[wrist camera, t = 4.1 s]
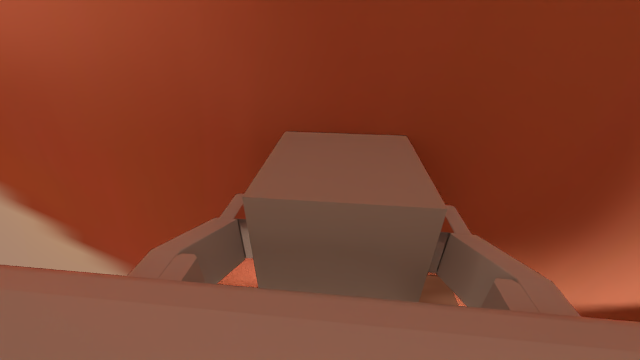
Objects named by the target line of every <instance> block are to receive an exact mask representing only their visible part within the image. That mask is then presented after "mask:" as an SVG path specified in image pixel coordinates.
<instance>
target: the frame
mask: <svg viewBox="0 0 640 360" xmlns="http://www.w3.org/2000/svg"><path fill="white" fill-rule="evenodd" d="M419 302H422V303H433V304H444V305H455V306H458V303H457V301H456V298H455V296H454V293H453V291H452V290H451V289H450V288H449V287H448V286H447V285H446V284H445V283H444V282H443V280H442V279H441V278H440V277H439V276H430V275H427V277H426V280H425V283H424V286H423V290H422V293H421V296H420V299H419Z"/></svg>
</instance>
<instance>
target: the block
mask: <svg viewBox="0 0 640 360" xmlns="http://www.w3.org/2000/svg"><path fill="white" fill-rule="evenodd" d="M242 200H243V205H244V211H245V216H246V222H247V227H248V233H249V238H250V244H251V249H252V255H253V260H254V266H255V271H256V277H257V282H258V288H265V289H277V290H288V291H299V292H310V293H322V294H333V295H344V296H356V297H367V298H378V299H389V300H400V301H411V302H419V299H420V296H421V293H422V290H423V286H424V283H425V280H426V277H427V274H428V270H429V267H430V264H431V261H432V258H433V254H434V251H435V248H436V245H437V241H438V238H439V235H440V232H441V229H442V225H443V222H444V219H445V216H446V212H447V207H446V205H445V203H444V202H443V200H442V198H441V196H440V195H439V193H438V191H437V189H436V187H435V186H434V184H433V182H432V180H431V178H430V177H429V175H428V173H427V171H426V170H425V168H424V166H423V164H422V162H421V161H420V159H419V157H418V155H417V153H416V152H415V150H414V148H413V146H412V145H411V143H410V141H409V139H408V137H407V136H402V135H374V134H346V133H317V132H289V131H285V132H284V134H283V135H282V137H281V138H280V140H279V142H278V143H277V145H276V146H275V148H274V149H273V151H272V152H271V154H270V155H269V157H268V158H267V160H266V161H265V163H264V164H263V166H262V167H261V169H260V170H259V172H258V173H257V175H256V176H255V178H254V179H253V181H252V182H251V184H250V186H249V187H248V189H247V190H246V192H245V193H244V195H243V196H242Z"/></svg>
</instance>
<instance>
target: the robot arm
mask: <svg viewBox="0 0 640 360" xmlns="http://www.w3.org/2000/svg"><path fill="white" fill-rule="evenodd" d="M243 195H244V194H241V193H238V194H236V195H235V196H234V197H233V199H232V200H231V202H230V203H229V204H228V206H227V207H226V209H225V210H224V211H223V213H222V214H221V216H220V217H219V218H213V219H211V220H209V221H207V222H205V223H203V224H201V225H199V226H197V227H195V228H193V229H191V230H189V231H187V232H185V233H183V234H181V235H179V236H177V237H175V238H173V239H171V240H169V241H167V242H165V243H164V244H162V245H160V246H158V247H156V248H154V249H152V250H150V252H149V253H148V254H147V255H146V256H145V257H144V258H143V259H142V260H141V261H140V262H139V263H138V265H137V266H136V267H135V268H134V269H133V270H132V271H131V272H130V273H129V274H128V275H127V276H120V275H109V274H97V273H86V272H75V271H65V270H53V269H43V268H31V267H19V266H9V265H0V360H640V322H635V321H624V320H613V319H601V318H590V317H581V316H580V315H579V314H578V312H577V311H576V310H575V309H574V308H573V306H572V305H571V304H570V303H569V301H568V300H567V299H566V298H565V297H564V295H563V294H562V293H561V292H560V290H559V289H558V288H557V287H556V286H555V284H554V283H553V282H552V281H550V280H549V279H547V278H545V277H544V276H542V275H541V274H539V273H537V272H536V271H534V270H532V269H531V268H529V267H528V266H526V265H524V264H523V263H521V262H519V261H518V260H516V259H515V258H513V257H511V256H510V255H508V254H507V253H505V252H503V251H502V250H500V249H498V248H497V247H495V246H494V245H492V244H490V243H489V242H487V241H485V240H484V239H482V238H481V237H479V236H477V235H472V234H471V232H470V231H469V229H468V228H467V226H466V224H465V223H464V221H463V220H462V218H461V216H460V215H459V213H458V212H457V210H456V208H455V207H454V206H452V205H446V207H447V212H446V216H445V219H444V222H443V225H442V229H441V232H440V235H439V238H438V241H437V245H436V248H435V251H434V254H433V258H432V261H431V264H430V267H429V270H428V272H430V273H437V275H438V276H439V277H440V278H441V279H442V280H443V282H444V283H445V284H446V285H447V286H448V287H449V288H450V289H451V290H452V291H453V292H454V293H455V294H456V295H457V296H458V297H459V298H460V299H461V300H462V302H463V303H464V304H465V305H466V306H467V307H465V306H455V305H444V304H433V303H422V302H411V301H400V300H389V299H378V298H367V297H356V296H344V295H333V294H322V293H310V292H299V291H288V290H277V289H265V288H254V287H243V286H232V285H221V284H217V283H218V282H219V281H220V280H222V279H223V278H224V277H225V276H226V275H227V274H229V273H230V272H231V271H232V270H233V269H234V268H236V267H237V266H238V265H239V264H240V263H241V262H243V261H244V260H245V258H253V255H252V249H251V244H250V238H249V233H248V227H247V222H246V216H245V211H244V205H243V200H242V196H243Z"/></svg>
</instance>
